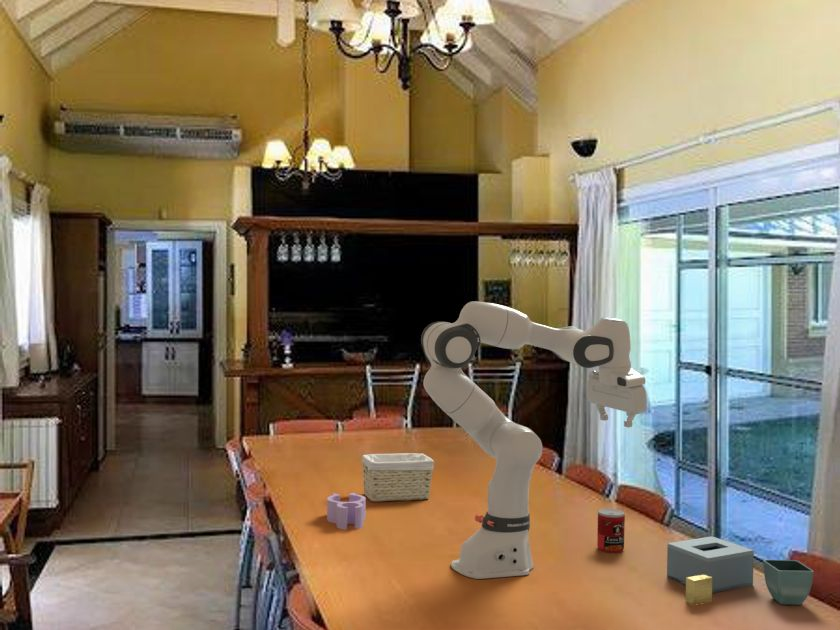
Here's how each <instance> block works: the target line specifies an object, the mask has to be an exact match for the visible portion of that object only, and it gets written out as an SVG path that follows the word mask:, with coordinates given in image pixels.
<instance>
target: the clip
mask: <svg viewBox="0 0 840 630" xmlns="http://www.w3.org/2000/svg"><path fill="white" fill-rule="evenodd" d="M326 498H327V499H326V508H327V509H326V520H327V522H330V523H333V524H336V528H337V529H340V530H344V531H345V530H348V525H354V529H355V530H360V529H362V528H363V527H364V521H366V510H367V509H366V506H367V505H366V504H367V503H366V502H367V500H366V499H367V498H366V496H364V495H361V494H357V492H351V493H349V498H348V499H349V501H341V495H340V494H339V493H334V492H333V493H332V494H331V495H329V496H328V497H326Z"/></svg>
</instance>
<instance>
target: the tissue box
mask: <svg viewBox="0 0 840 630" xmlns="http://www.w3.org/2000/svg"><path fill="white" fill-rule="evenodd" d="M754 554H755V550H753V549H751V548H748V547H746V546H742V545H739V544H737V543H736V544H735V543H734V542H730V541H728V540H724V539H721V538H718V537H716V536H712V535H711V536H705V537H701V538H700V537H698V538H694V539H687V540H680V541H674V542H667V554H666V555H667V559H666V560H667V561H666V564H667V565H666V578H667V577H668V579H669V580H673V581H674V580H675V581H674V582H677V583H679V582H680V584H681V585H684V584H685V585H684V586H686V578H687V577H693V576H698V575H703V574H705V575H707V576H710V577H712V594H715V593H721V592H726V591H729V590H736V589H740V588H745V587H751V586H753V585H754V562H755V561H754V558H755V555H754ZM750 585H751V586H750ZM725 590H726V591H725ZM720 591H721V592H720Z"/></svg>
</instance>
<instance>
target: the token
mask: <svg viewBox="0 0 840 630" xmlns="http://www.w3.org/2000/svg"><path fill="white" fill-rule="evenodd" d="M686 602H687V603H686ZM706 602H709V603H712V602H713V593H712V577H710V576H707V575H705V574H703V575H698V576H693V577H687V578H686V585H685V603H686V604H689V605H691V604H692V605H691V606H693V605H694V606H697V605H696V604H699V605H702V604H701V603H704V604H707V603H706Z"/></svg>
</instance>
